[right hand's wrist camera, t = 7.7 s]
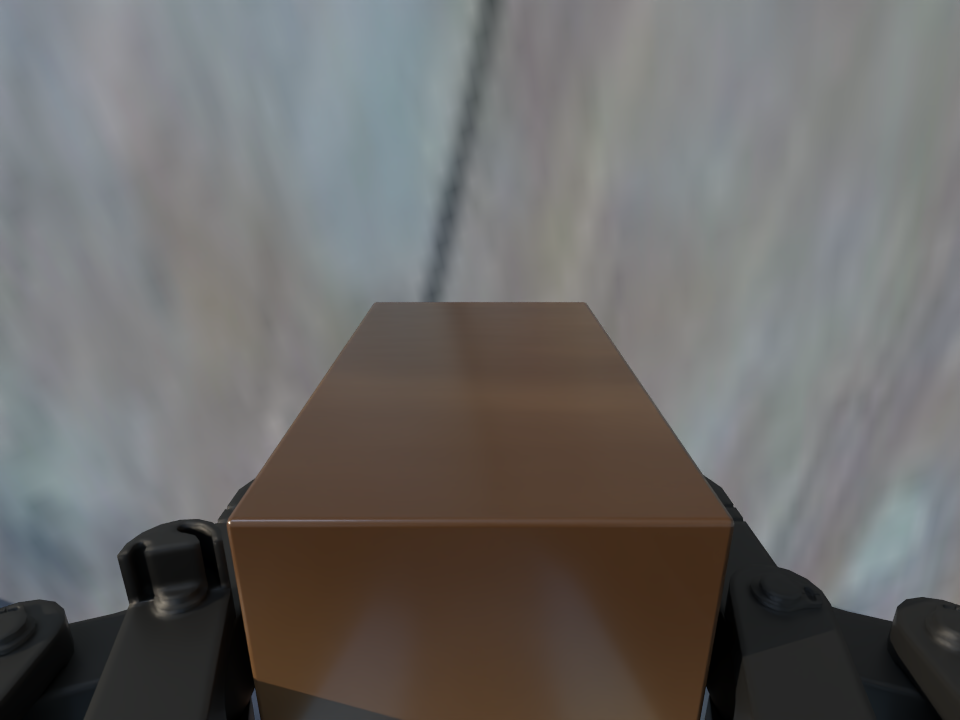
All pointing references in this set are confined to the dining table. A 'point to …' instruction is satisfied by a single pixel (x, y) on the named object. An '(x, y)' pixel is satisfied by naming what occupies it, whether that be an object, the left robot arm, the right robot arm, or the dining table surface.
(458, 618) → the bar
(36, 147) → the dining table surface
